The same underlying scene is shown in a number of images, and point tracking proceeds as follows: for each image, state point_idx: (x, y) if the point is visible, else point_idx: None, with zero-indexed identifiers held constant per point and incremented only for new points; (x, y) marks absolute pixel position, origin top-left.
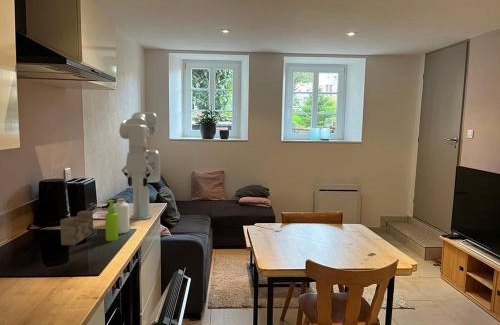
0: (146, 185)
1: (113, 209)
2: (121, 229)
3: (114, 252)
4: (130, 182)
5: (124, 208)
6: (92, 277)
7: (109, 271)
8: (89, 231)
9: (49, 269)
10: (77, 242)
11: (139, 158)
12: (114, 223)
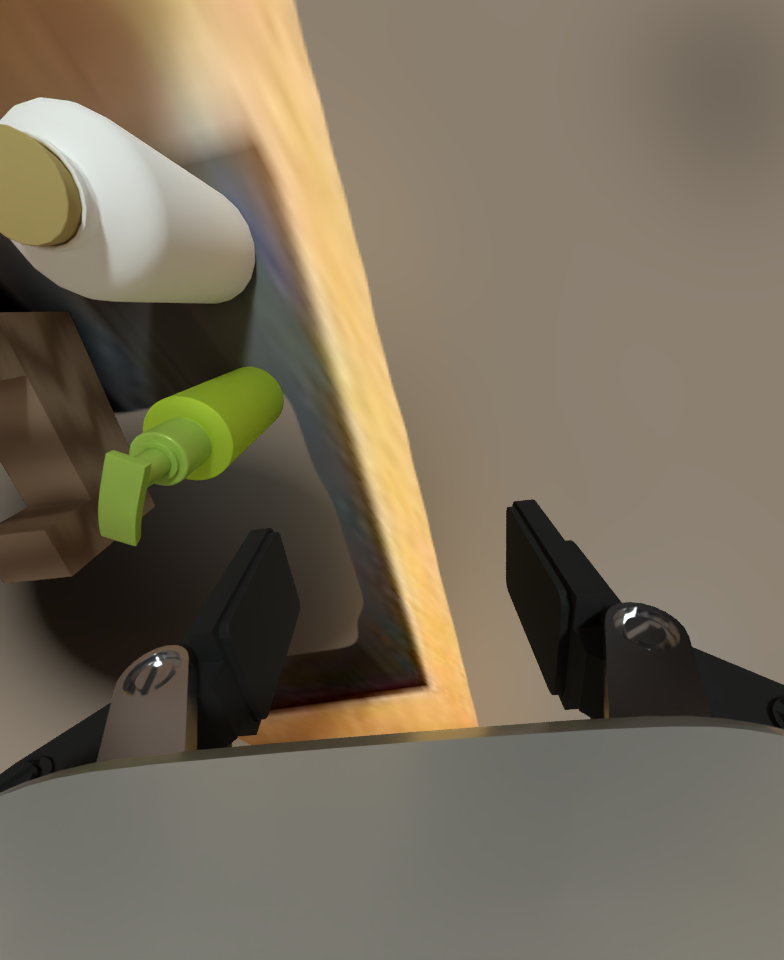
0: (531, 503)
1: (195, 464)
2: (228, 295)
3: (371, 545)
4: (282, 634)
5: (168, 265)
6: (418, 695)
7: (442, 665)
8: (72, 362)
9: None
10: None
11: None
12: (250, 441)
